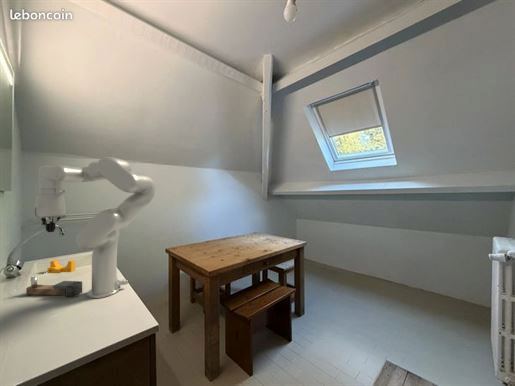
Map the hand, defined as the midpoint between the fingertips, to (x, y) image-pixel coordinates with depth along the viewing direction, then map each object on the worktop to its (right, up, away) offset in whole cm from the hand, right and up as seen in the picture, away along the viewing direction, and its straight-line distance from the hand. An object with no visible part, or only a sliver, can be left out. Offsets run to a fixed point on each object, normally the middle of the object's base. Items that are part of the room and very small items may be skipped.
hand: (50, 231), depth 102 cm
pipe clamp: (-16, -28, +24) cm, 40 cm away
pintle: (-5, -25, -2) cm, 25 cm away
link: (+1, -27, -2) cm, 28 cm away
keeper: (+11, -28, -3) cm, 30 cm away
